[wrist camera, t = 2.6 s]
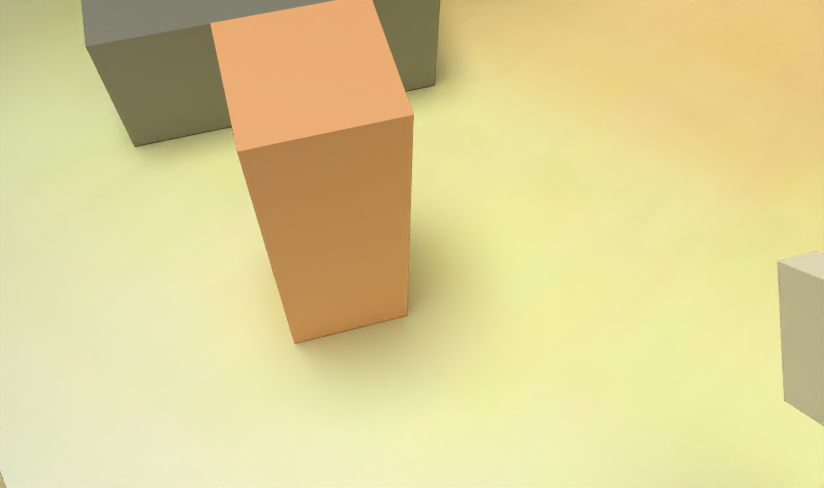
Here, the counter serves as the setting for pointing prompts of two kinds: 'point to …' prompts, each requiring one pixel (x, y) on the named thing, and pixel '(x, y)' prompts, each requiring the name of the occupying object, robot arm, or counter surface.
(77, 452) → the counter surface
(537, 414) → the counter surface
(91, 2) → the socket
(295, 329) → the peg
